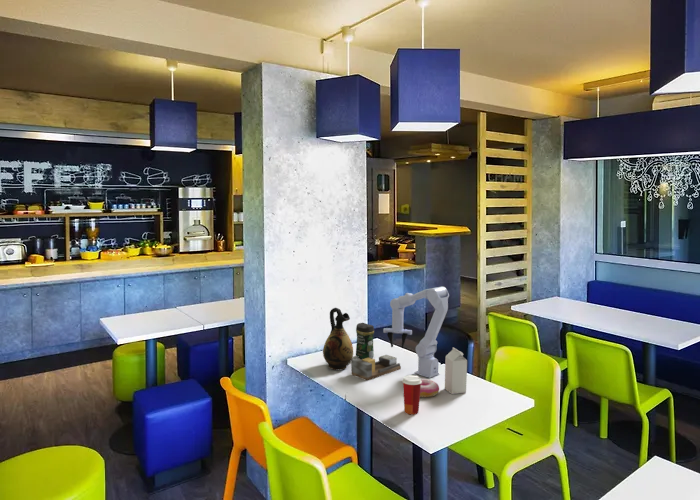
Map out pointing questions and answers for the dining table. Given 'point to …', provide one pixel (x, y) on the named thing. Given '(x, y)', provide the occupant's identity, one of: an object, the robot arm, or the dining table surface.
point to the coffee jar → (364, 341)
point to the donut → (428, 388)
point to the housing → (370, 362)
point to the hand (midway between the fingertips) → (397, 347)
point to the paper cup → (411, 394)
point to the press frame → (370, 369)
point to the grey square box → (387, 360)
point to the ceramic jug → (338, 343)
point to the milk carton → (455, 372)
